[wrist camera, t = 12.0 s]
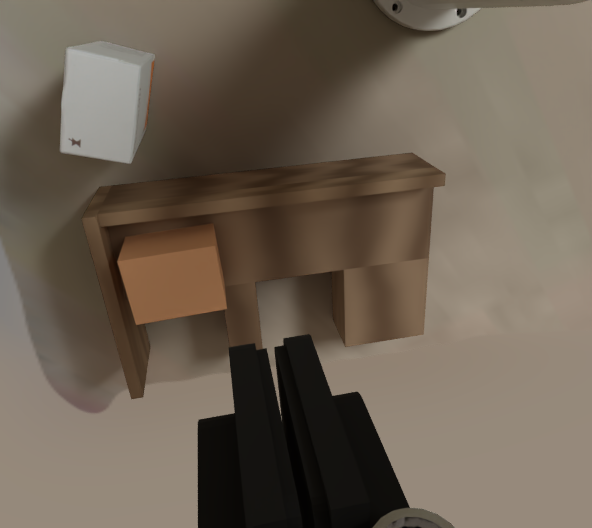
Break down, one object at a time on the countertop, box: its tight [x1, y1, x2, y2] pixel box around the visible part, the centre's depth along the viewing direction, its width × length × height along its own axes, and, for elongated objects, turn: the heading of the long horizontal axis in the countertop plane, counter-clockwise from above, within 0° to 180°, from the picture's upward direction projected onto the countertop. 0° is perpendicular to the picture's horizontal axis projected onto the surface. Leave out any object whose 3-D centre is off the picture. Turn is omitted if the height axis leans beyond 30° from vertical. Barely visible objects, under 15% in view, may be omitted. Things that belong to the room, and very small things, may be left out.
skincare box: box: [60, 41, 155, 164], centre depth 34 cm, size 6×4×12 cm
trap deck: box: [81, 153, 446, 399], centre depth 45 cm, size 28×17×8 cm, turn 94°
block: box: [117, 223, 227, 325], centre depth 39 cm, size 7×6×4 cm
